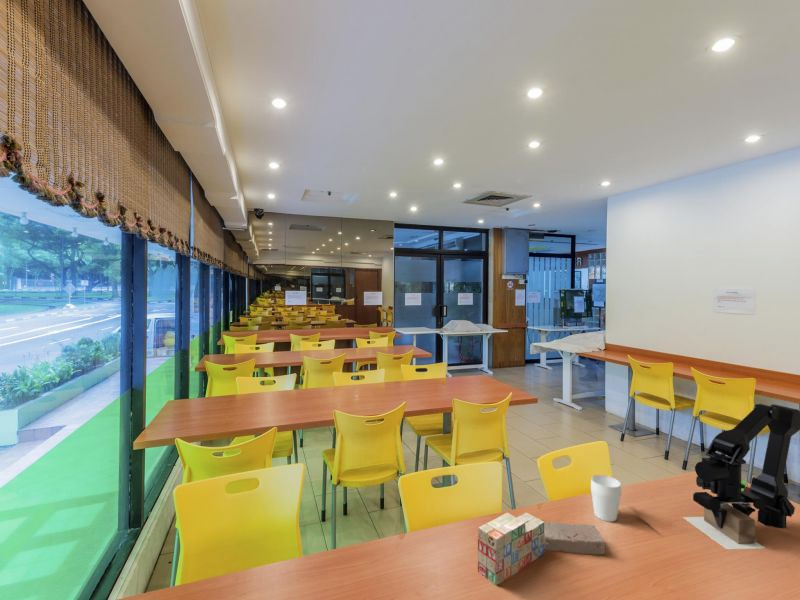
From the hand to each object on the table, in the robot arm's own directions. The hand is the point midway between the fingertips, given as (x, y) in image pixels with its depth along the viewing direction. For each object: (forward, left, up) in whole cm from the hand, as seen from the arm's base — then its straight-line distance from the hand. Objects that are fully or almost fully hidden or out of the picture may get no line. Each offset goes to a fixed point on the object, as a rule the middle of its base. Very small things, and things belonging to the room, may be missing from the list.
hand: (728, 527), depth 119 cm
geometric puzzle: (-26, -22, -3) cm, 34 cm away
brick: (+51, +2, -3) cm, 51 cm away
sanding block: (0, 0, -1) cm, 1 cm away
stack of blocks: (+72, +9, -3) cm, 72 cm away
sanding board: (+2, 0, -3) cm, 4 cm away
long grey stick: (-4, +1, -2) cm, 4 cm away
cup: (+32, -12, -3) cm, 34 cm away
